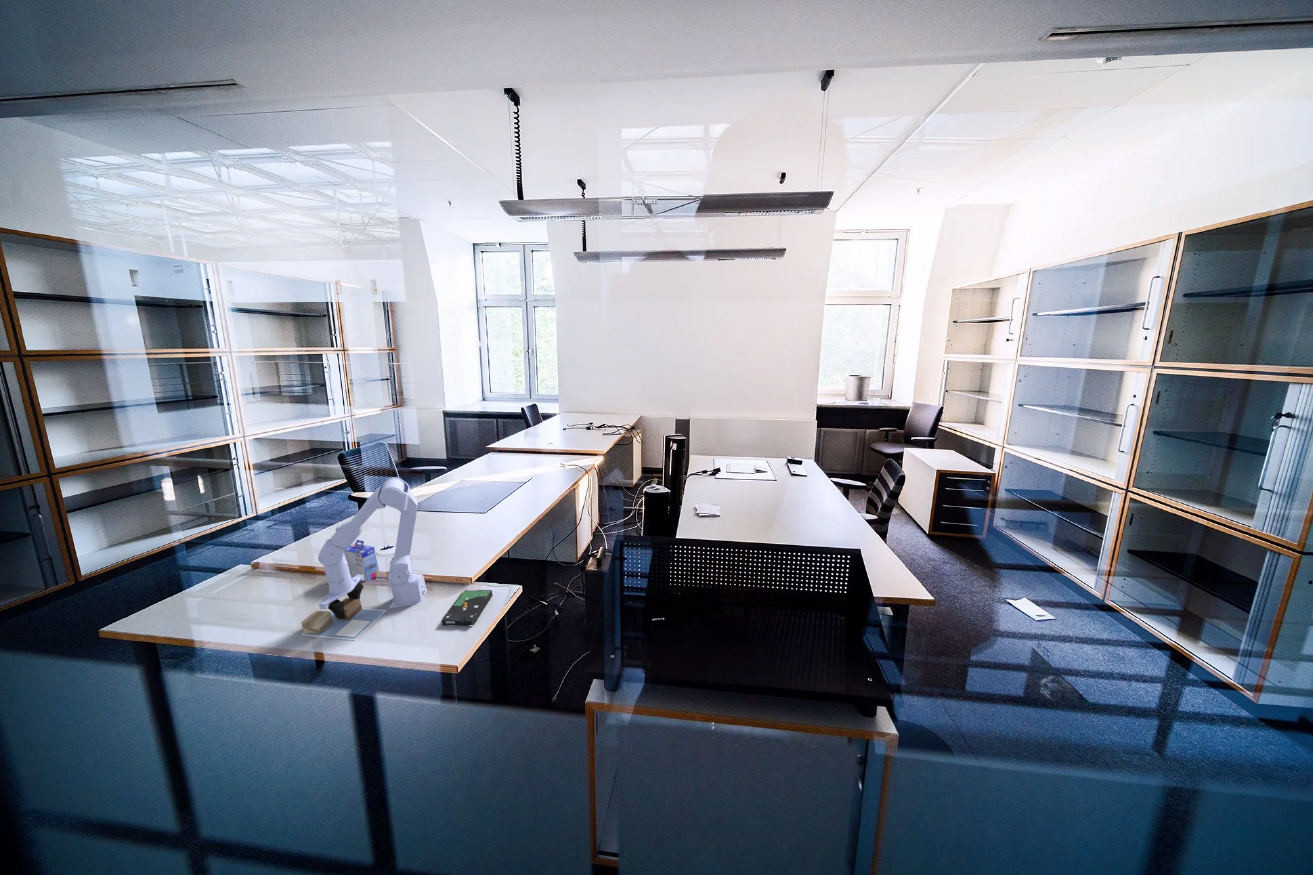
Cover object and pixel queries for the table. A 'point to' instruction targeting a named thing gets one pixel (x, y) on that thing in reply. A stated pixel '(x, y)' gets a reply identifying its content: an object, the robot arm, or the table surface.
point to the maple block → (317, 622)
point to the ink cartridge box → (362, 560)
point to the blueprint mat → (349, 625)
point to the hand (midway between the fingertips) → (348, 611)
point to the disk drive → (467, 608)
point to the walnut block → (351, 608)
